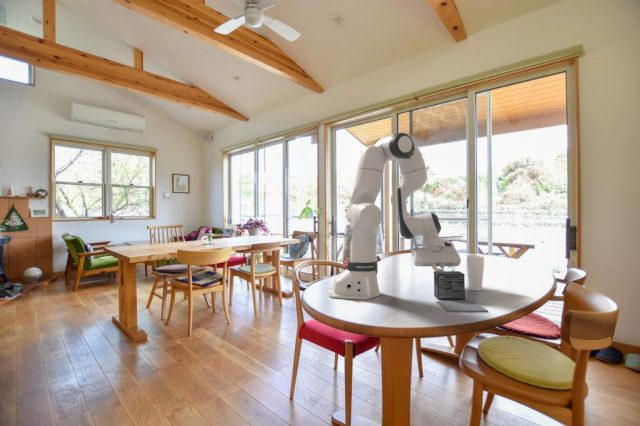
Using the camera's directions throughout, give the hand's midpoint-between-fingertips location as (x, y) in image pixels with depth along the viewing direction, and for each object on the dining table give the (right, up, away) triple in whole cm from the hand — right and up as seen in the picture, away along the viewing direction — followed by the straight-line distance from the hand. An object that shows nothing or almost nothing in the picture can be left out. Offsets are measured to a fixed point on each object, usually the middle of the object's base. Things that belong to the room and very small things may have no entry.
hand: (440, 273), depth 133 cm
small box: (0, -8, -9) cm, 13 cm away
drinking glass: (+16, -8, +2) cm, 18 cm away
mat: (-1, -8, -21) cm, 22 cm away
